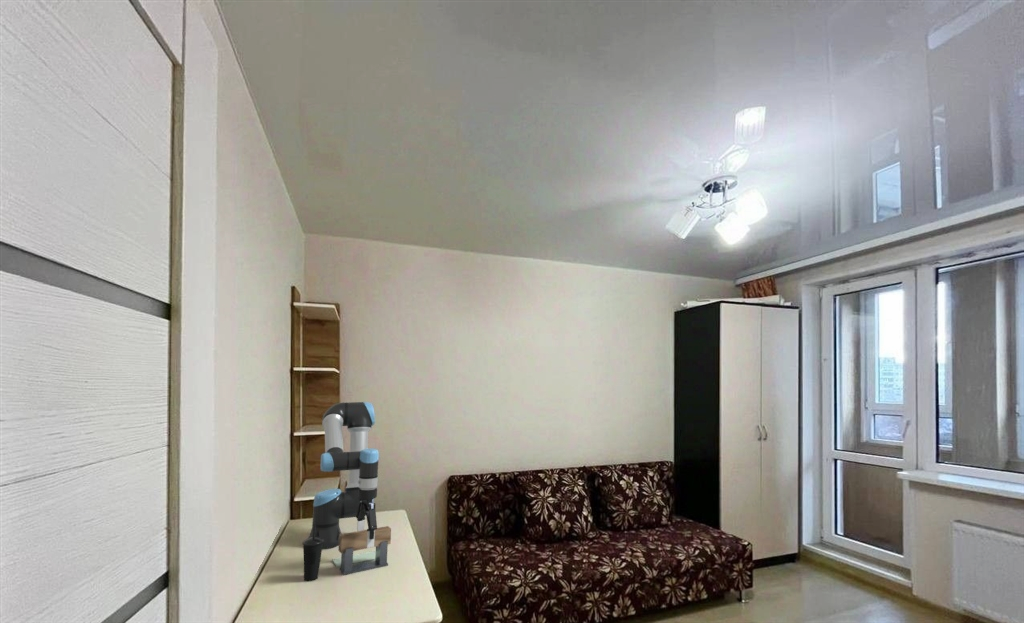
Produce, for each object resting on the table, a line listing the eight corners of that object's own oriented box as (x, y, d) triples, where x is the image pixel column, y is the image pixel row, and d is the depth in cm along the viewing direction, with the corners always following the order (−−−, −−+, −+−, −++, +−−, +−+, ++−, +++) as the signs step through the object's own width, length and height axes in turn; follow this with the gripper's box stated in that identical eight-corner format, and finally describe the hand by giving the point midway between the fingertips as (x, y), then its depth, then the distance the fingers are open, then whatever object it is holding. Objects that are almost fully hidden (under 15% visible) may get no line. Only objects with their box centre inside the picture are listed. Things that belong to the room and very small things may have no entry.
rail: (338, 550, 190) (339, 534, 191) (387, 541, 201) (387, 526, 202) (341, 553, 186) (341, 537, 187) (390, 543, 198) (391, 528, 198)
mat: (332, 560, 200) (332, 559, 200) (374, 552, 209) (374, 550, 210) (337, 567, 192) (337, 566, 192) (381, 558, 202) (381, 557, 202)
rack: (339, 570, 190) (340, 545, 191) (383, 560, 200) (384, 537, 201) (343, 575, 185) (344, 549, 186) (388, 565, 195) (389, 541, 196)
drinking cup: (326, 576, 184) (329, 522, 187) (311, 584, 177) (315, 527, 180) (310, 573, 187) (313, 520, 189) (295, 581, 180) (299, 525, 182)
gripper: (350, 483, 205) (347, 535, 202) (368, 495, 184) (365, 553, 182) (367, 481, 209) (365, 532, 206) (386, 493, 189) (384, 549, 186)
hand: (365, 542), depth 194 cm, fingers open, 13 cm apart
